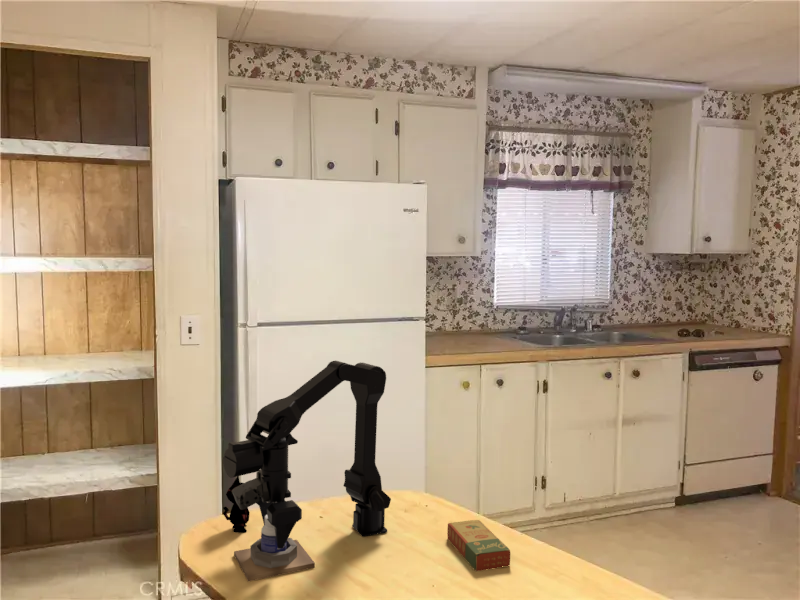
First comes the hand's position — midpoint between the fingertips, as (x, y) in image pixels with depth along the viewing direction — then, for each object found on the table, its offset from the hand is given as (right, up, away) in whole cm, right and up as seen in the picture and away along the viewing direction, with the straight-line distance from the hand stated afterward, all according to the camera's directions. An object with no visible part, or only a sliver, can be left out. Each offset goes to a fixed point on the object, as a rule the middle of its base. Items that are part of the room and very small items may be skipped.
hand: (274, 538), depth 143 cm
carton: (+44, -6, +7) cm, 45 cm away
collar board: (0, -5, 0) cm, 5 cm away
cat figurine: (-11, -4, +16) cm, 20 cm away
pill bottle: (0, -4, 0) cm, 4 cm away
